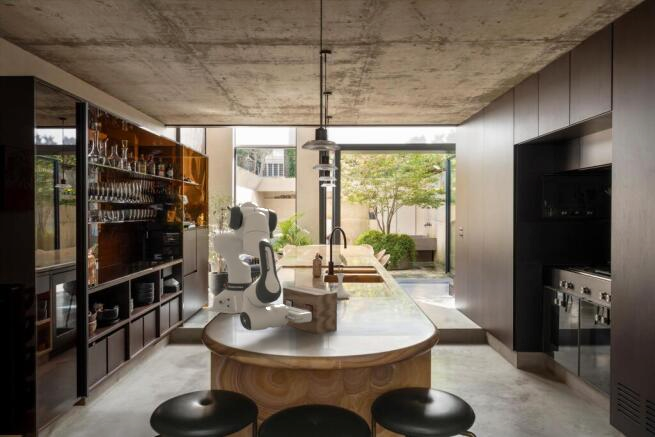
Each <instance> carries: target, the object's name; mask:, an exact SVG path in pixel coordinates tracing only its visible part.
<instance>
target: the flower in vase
mask: <svg viewBox="0 0 655 437" xmlns="http://www.w3.org/2000/svg"><path fill="white" fill-rule="evenodd" d="M338 257H339V260H340V263H339V264H338V265H339V266H338V267H337V269H338V272H339V273H336V276H337V279H338V282H337V283H338V285H337V288H335V289H334V290H333V291H332V292H337V299H339V300H340V299H341V300H342V299H348V298H350V297H351V294H350V293H349V291H348V290H346V289H345V287H344V286H343V279H344V277H345V273H341V272H342V271H343V270H344V268H340V266H341V264H343V265H344V266H346V267H347V266H348V261H347V260H346V257H344V255H343V254H341V253H339V255H338Z"/></svg>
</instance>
